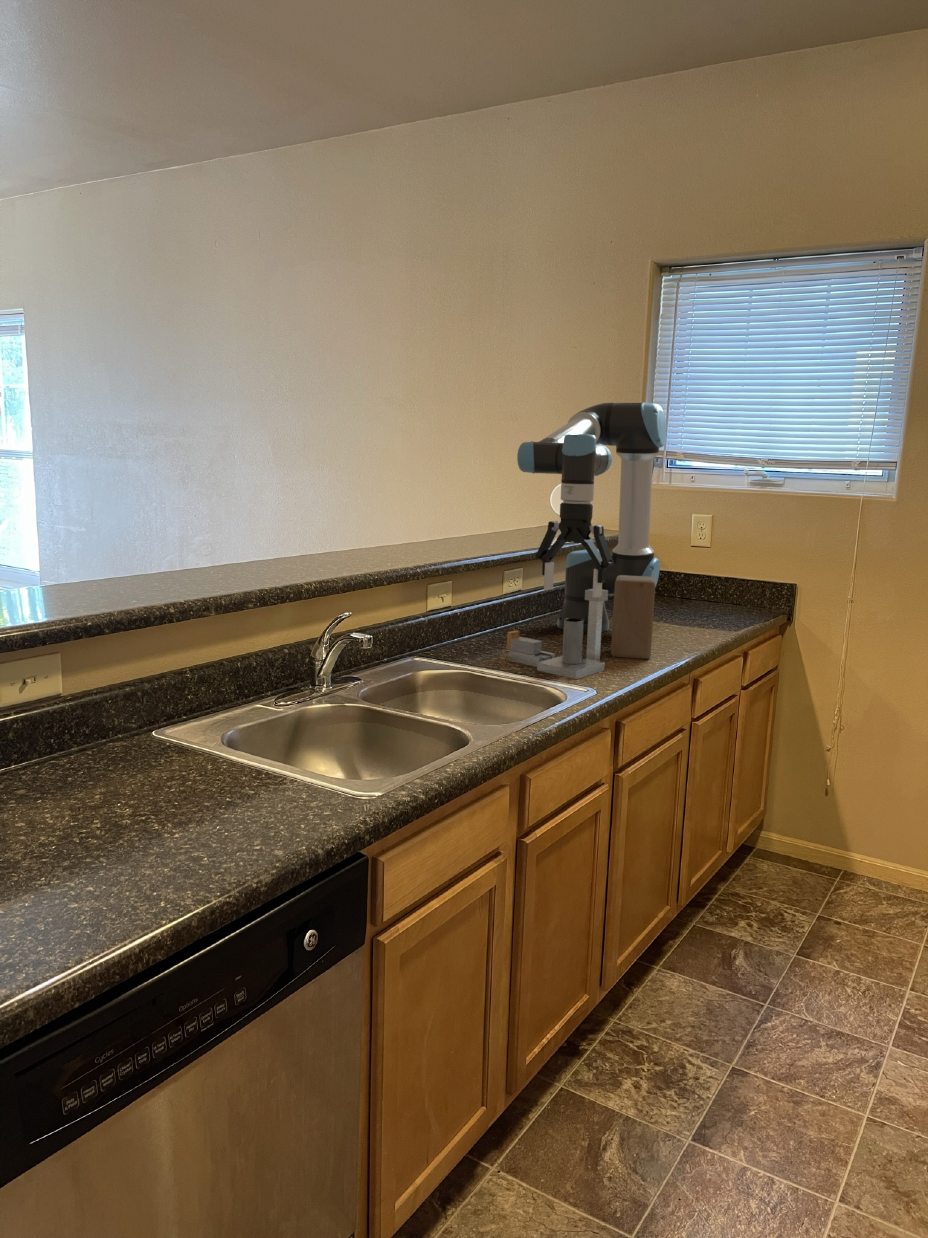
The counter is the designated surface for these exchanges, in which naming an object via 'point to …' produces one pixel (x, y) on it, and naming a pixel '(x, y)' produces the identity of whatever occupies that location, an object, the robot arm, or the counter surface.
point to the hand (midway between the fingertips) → (572, 593)
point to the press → (592, 660)
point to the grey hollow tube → (572, 641)
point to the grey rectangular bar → (523, 644)
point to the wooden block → (633, 616)
